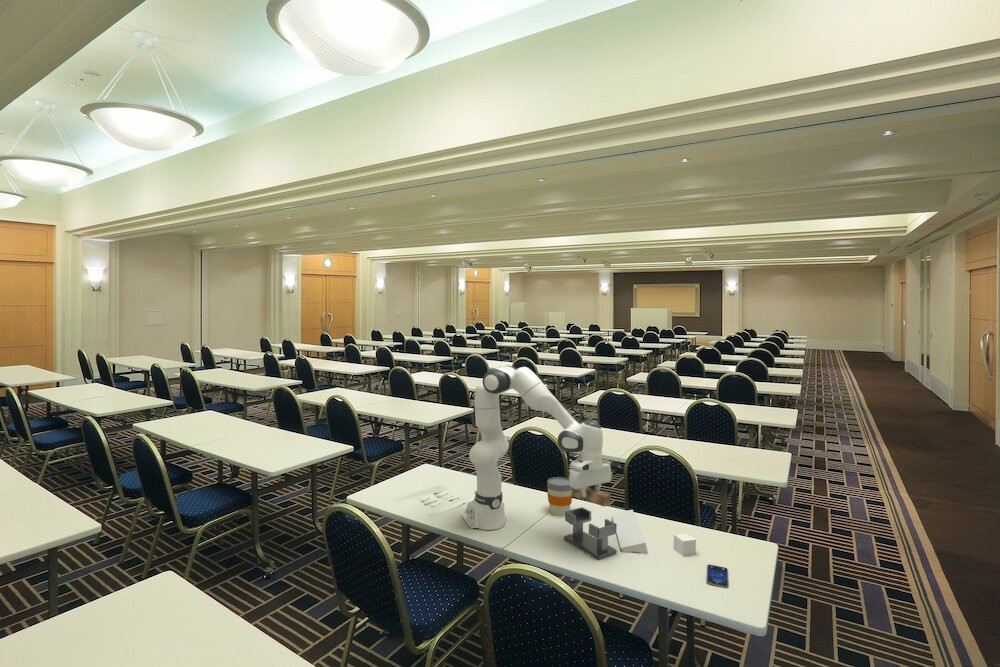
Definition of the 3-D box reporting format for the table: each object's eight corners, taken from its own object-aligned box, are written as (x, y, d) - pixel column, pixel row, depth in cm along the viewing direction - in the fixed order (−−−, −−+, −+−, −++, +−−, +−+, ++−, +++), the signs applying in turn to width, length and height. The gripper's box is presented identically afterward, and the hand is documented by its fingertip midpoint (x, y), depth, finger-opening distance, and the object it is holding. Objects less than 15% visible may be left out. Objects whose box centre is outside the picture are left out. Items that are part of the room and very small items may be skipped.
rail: (571, 496, 213) (572, 486, 213) (577, 493, 216) (577, 484, 216) (604, 506, 202) (604, 496, 202) (610, 504, 205) (610, 494, 204)
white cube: (685, 547, 210) (686, 533, 210) (695, 554, 205) (696, 539, 204) (673, 549, 209) (673, 534, 208) (682, 556, 203) (683, 541, 203)
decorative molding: (623, 559, 206) (648, 554, 204) (620, 547, 206) (645, 542, 204) (614, 524, 239) (635, 519, 238) (611, 514, 239) (632, 509, 238)
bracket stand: (563, 539, 216) (564, 511, 215) (581, 534, 221) (582, 506, 221) (598, 560, 199) (598, 529, 198) (616, 553, 204) (617, 524, 203)
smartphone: (728, 567, 193) (728, 587, 179) (727, 570, 193) (728, 590, 179) (706, 563, 196) (706, 582, 182) (706, 565, 196) (705, 585, 182)
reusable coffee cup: (559, 505, 254) (560, 475, 253) (578, 513, 244) (579, 482, 243) (541, 510, 246) (541, 480, 245) (559, 519, 236) (560, 487, 235)
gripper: (604, 456, 216) (603, 488, 217) (567, 463, 205) (566, 497, 206) (615, 460, 211) (614, 493, 212) (577, 468, 200) (576, 502, 201)
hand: (590, 495), depth 209 cm, fingers closed on rail, 4 cm apart
